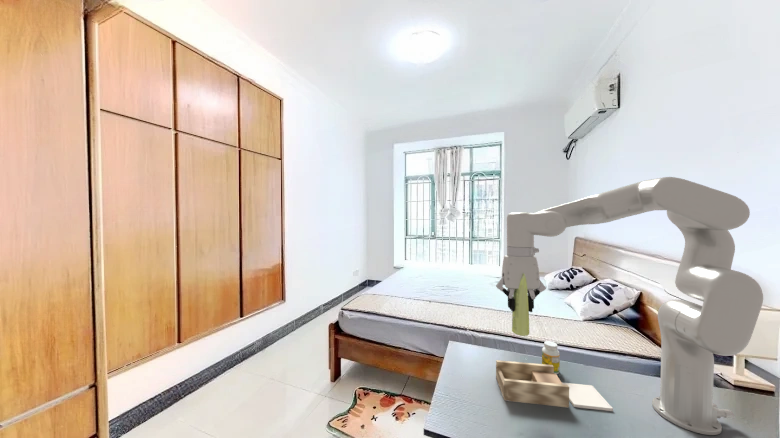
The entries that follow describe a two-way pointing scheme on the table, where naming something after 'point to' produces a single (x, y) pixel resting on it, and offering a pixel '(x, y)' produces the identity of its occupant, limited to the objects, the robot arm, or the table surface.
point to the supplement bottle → (551, 356)
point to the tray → (529, 384)
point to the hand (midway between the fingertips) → (520, 309)
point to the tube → (521, 309)
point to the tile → (587, 397)
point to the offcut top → (545, 377)
